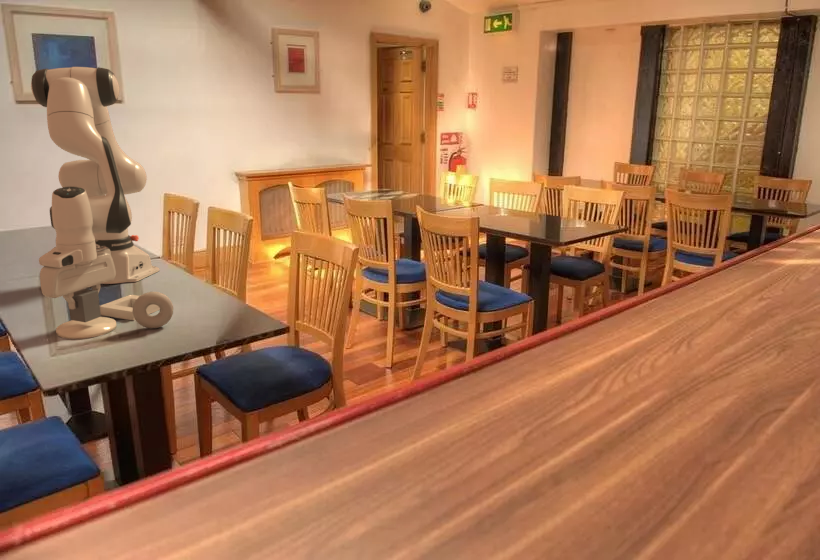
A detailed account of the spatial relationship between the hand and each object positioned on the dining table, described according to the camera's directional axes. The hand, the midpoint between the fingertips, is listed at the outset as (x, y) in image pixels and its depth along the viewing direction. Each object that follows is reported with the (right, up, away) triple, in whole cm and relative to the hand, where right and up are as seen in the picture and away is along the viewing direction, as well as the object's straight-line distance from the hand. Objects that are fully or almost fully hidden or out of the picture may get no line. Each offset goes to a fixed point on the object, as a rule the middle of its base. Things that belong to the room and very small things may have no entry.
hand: (83, 304), depth 164 cm
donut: (+17, -6, +4) cm, 18 cm away
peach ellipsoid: (0, -6, +2) cm, 7 cm away
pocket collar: (+6, -2, +16) cm, 17 cm away
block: (0, -3, +1) cm, 4 cm away
